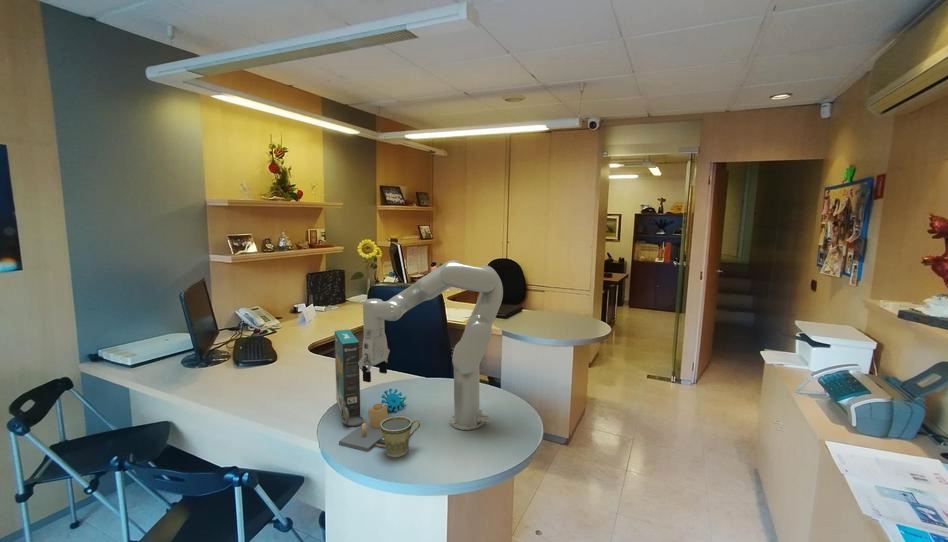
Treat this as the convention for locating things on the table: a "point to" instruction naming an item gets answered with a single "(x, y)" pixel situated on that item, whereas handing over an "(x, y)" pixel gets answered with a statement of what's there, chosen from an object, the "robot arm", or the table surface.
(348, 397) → the cake mix box
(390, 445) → the ceramic cup
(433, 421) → the table surface
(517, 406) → the table surface
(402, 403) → the gear
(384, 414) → the cube with round knob
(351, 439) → the junction plate
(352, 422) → the pocket watch
